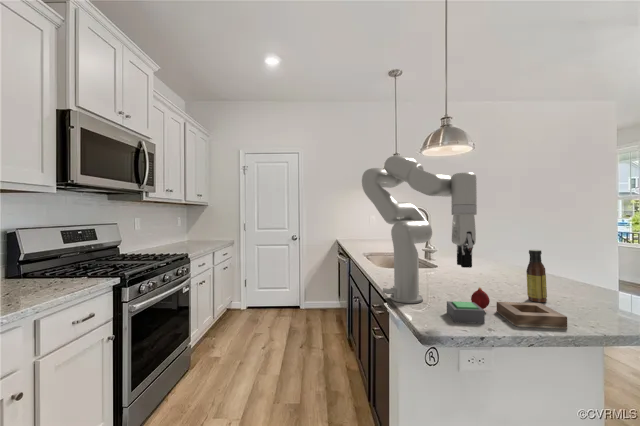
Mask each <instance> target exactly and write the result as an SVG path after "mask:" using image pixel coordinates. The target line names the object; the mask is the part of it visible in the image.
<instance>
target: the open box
mask: <svg viewBox="0 0 640 426" xmlns="http://www.w3.org/2000/svg"><path fill="white" fill-rule="evenodd" d="M496 313H498V314H499V315H500V316H502V317H503V318H504V319H506V320H507V321H509V323H511V324H512V323H513V325H514V326H515V327H520V328H521V327H522V328H542V329H545V328H546V329H563V330H564V329H567V330H568V316H566V315H565V314H563V313H560V312H559V311H556V310H554V309H553V308H552V307H549V306H548V305H547V306H546V305H545V304H543V303H542V302H523V301H522V302H520V301H519V302H517V301H512V302H511V301H496Z"/></svg>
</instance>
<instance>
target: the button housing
mask: <svg viewBox="0 0 640 426" xmlns="http://www.w3.org/2000/svg"><path fill="white" fill-rule="evenodd" d="M471 302H472V301H471ZM472 303H473V304H474V305H475V306H476V307H478V309H456V308H455V306H454V305H453V304H452V301H448V300H447V301H446V314H447V315H448V316H449V317H450V318H451V320H452V321H453V323H466V324H467V323H468V324H485V321H486V320H485V318H486V317H485V309H482V308H481V307H479V306H478V305H477V304H476V303H475V302H472Z"/></svg>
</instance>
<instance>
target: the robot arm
mask: <svg viewBox="0 0 640 426" xmlns="http://www.w3.org/2000/svg"><path fill="white" fill-rule="evenodd" d="M383 167H384V168H382V167H372V168H368V169H366V170H365V171H364V172H363V174H362V177H361V187H362V190H363V193H364V194H365V196H366V197H367V198H368V199H369V200H370V202H371V203H372V204H373V205H374V207H375V208H376V210H377V211H378V213H379V215H380V216H381V218H382V219H383V220H384V222H386V223H387V224H388V225H392V227H391V229H390V236H391V241H392V246H393V247H392V248H393V272H394V273H393V275H394V276H393V279H394V280H393V281H394V282H393V283H394V285H392V287H390V288H387V287H385V288H382V294H386V295H390V299H391V300H392V301H393V302H397V303H401V304H418V303H421V302H423V301H424V297H423V295H421V294H420V282H419V281H420V277H419V273H420V272H419V268H420V267H419V266H420V265H419V258H420V257H419V252H418V249H417V247H416V245H415V244H424V243H427V242H429V241H430V240H431V239H432V237H433V228H432V226H431V224H430V222H429V221H428V220H427V219H426V218H425V216H424V215H423V214H422V213H421V211H420V210H419V209H418V207H417V206H416V205H414V204H413V203H410V202H402V201H401V202H400V201H397V200H396V199H395V198H394V197H393V196H392V194H391V193H390V192H389V191H388V190H386V189H385V188H389V189H390V188H395V187H397V186H399V185H401V184H403V183H404V182H405V183H407V184H408V185H409V186H410V188H411V189H413V190H414V191H417V192H419V193H421V194H423V195H426V196H430V197H445V198H446V197H447V198H448V197H450V198H451V216H453V217H452V223H451V243H452V244H453V245H456V265H457V266H460V267H461V268H468V269H469V268H470V269H471V268H472V267H473V248H474V246H475V244H476V238H477V236H476V233H477V232H476V231H477V230H476V220H475V216H477V213H478V212H477V209H478V207H477V206H478V204H477V202H478V201H477V198H478V197H477V195H478V194H477V193H478V192H477V175H476V174H475V173H474V172H459V173H458V172H457V173H454V174H453V175H449V174H441V173H440V174H439V173H438V174H437V173H431V172H428V171H425V170H424V166H423V165H422V164H421V163H420V162H417V160H416V159H414V158H413V157H411V156H403V155H391V156H389V157H388V158H387V159H386V160H385V161H384V166H383Z"/></svg>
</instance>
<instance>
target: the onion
mask: <svg viewBox="0 0 640 426" xmlns="http://www.w3.org/2000/svg"><path fill="white" fill-rule="evenodd" d="M470 302H475V303H476V304H477V305H478V306H479V307H481V308H482V309H483V310H485V309H486V308H487V307H488V306H489V305H490V302H491V301H490V297H489V295H488V294H487V292H485V291H484V290H483V289H482V287H478V289H477V290H475V291H474V292H473V293H472V294H471V296H470Z"/></svg>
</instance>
